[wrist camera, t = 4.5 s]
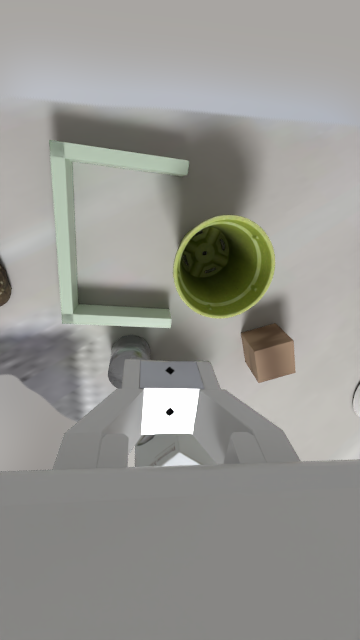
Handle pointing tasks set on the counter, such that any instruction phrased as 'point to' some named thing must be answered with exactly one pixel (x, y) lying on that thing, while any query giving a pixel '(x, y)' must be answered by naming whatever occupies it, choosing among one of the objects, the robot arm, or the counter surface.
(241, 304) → the plant pot
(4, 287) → the bread roll
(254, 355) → the walnut block
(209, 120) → the counter surface
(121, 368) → the metal tin
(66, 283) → the corral
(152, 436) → the supplement box
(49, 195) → the counter surface
